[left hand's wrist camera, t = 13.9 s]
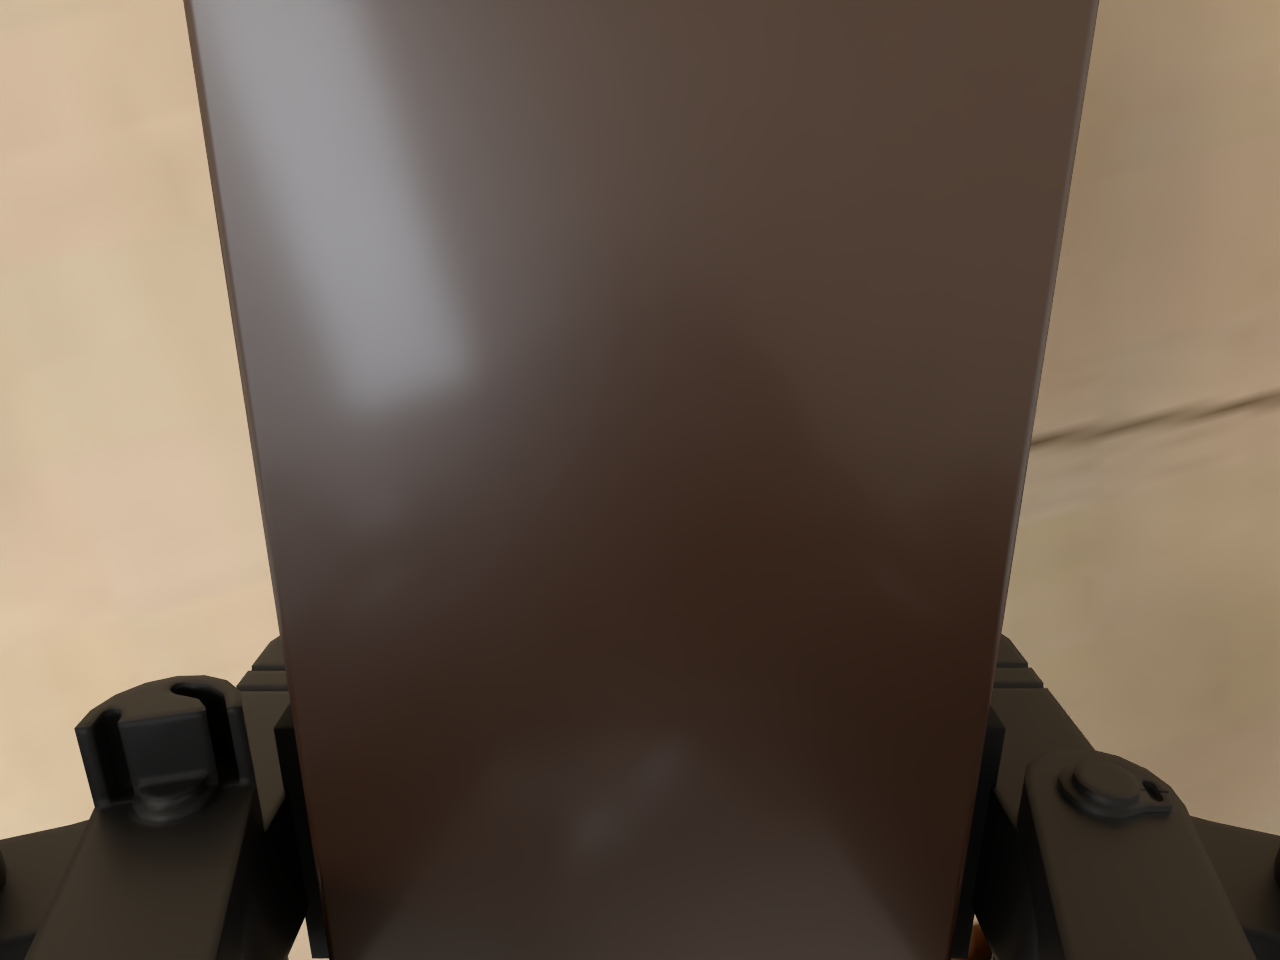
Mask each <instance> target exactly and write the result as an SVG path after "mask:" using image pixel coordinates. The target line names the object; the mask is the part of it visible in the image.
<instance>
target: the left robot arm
mask: <svg viewBox="0 0 1280 960" xmlns="http://www.w3.org/2000/svg"><path fill="white" fill-rule="evenodd" d="M236 687H237V688H236ZM236 687H234V686H233V685H232V684H231V683H230V682H228V681H227V680H223V679H219V678H214V677H210V676H206V675H200V676H175V677H171V678H166V679H162V680H157V681H152V682H148V683H144V684H142V685H139V686H137V687H134V688H132V689H129V690H126V691H124V692H121V693H119V694H116V695H114V696H113V697H111V698H110V699H108V700H107V701H105V702H103V703H102V704H100V705H99V706H97V707H95V708H94V709H92V710H91V711H90V712H89V713H88V714H87V715H86V716H85V717H84V718H83V719H82V721H81V722H80V723H79V724H78V725H77V726H76V727H75V728H74V729H75V733H76V736H77V740H78V744H79V748H80V752H81V756H82V759H83V763H84V767H85V771H86V775H87V779H88V782H89V786H90V790H91V794H92V798H93V802H94V805H95V808H94V810H93V813H92V815H91V817H90V819H89V820H87V821H83V822H79V823H76V824H72V825H68V826H64V827H59V828H54V829H49V830H45V831H40V832H35V833H31V834H26V835H21V836H16V837H12V838H7V839H2V840H0V960H289V959H288V954H289V952H290V950H291V948H292V945H293V943H294V941H295V938H296V936H297V934H298V932H299V929H300V927H301V925H302V923H303V920H304V918H306V924H307V930H308V936H309V942H310V948H311V954H312V958H329V954H328V947H327V940H326V934H325V927H324V921H323V914H322V908H321V901H320V894H319V888H318V881H317V875H316V868H315V862H314V855H313V848H312V842H311V835H310V829H309V822H308V816H307V809H306V802H305V796H304V789H303V783H302V776H301V770H300V763H299V756H298V750H297V743H296V737H295V730H294V724H293V717H292V710H291V704H290V697H289V691H288V684H287V678H286V671H285V664H284V658H283V651H282V645H281V638H280V636H279V637H277V638H276V639H274V640H273V641H271V642H270V643H269V644H268V646H267V647H266V648H265V650H264V651H263V652H262V653H261V655H260V656H259V657H258V659H257V660H256V661H255V663H254V664H253V665H252V671H248V672H247V673H246V674H245V676H244V677H243V678H242V680H241V681H240V682H239V684H238V685H237V686H236ZM974 914H975V915H976V917H977V920H978V922H979V924H980V927H981V929H982V931H983V933H984V936H985V938H986V940H987V942H988V945H989V947H990V949H991V951H992V959H991V960H1280V836H1278V835H1273V834H1268V833H1263V832H1259V831H1254V830H1249V829H1244V828H1240V827H1235V826H1230V825H1225V824H1221V823H1216V822H1211V821H1207V820H1204V819H1200V818H1196V817H1193V816H1190V815H1189V813H1188V811H1187V809H1186V807H1185V805H1184V804H1183V803H1182V801H1181V800H1180V799H1179V797H1178V796H1177V795H1176V793H1175V792H1174V791H1173V789H1172V788H1171V787H1170V786H1169V785H1167V784H1166V783H1165V782H1163V781H1162V780H1161V779H1159V778H1158V777H1157V776H1155V775H1154V774H1153V773H1151V772H1150V771H1148V770H1147V769H1145V768H1143V767H1141V766H1138V765H1136V764H1134V763H1132V762H1130V761H1127V760H1125V759H1123V758H1121V757H1119V756H1115V755H1111V754H1107V753H1103V752H1099V751H1095V750H1094V748H1093V747H1092V746H1091V744H1090V743H1089V742H1088V740H1087V739H1086V738H1085V737H1084V735H1083V734H1082V733H1081V731H1080V730H1079V729H1078V727H1077V726H1076V725H1075V724H1074V722H1073V721H1072V720H1071V718H1070V717H1069V716H1068V714H1067V713H1066V712H1065V711H1064V709H1063V708H1062V707H1061V705H1060V704H1059V703H1058V702H1057V700H1056V699H1055V698H1054V696H1053V695H1052V694H1051V692H1050V691H1049V690H1048V689H1047V688H1044V687H1043V682H1042V681H1041V679H1040V678H1039V677H1038V676H1037V674H1036V673H1035V672H1034V670H1033V669H1032V668H1028V663H1027V661H1026V660H1025V659H1024V657H1023V656H1022V655H1021V653H1020V652H1019V651H1018V650H1017V648H1016V647H1015V646H1014V644H1013V643H1012V642H1011V640H1010V639H1009V638H1007V637H1005V636H1004V635H1002V634H1001V638H1000V644H999V651H998V657H997V664H996V670H995V677H994V683H993V689H992V696H991V702H990V709H989V715H988V722H987V728H986V735H985V741H984V748H983V754H982V761H981V767H980V774H979V780H978V786H977V793H976V799H975V806H974V812H973V819H972V825H971V832H970V838H969V845H968V851H967V858H966V864H965V871H964V877H963V883H962V890H961V896H960V903H959V909H958V916H957V922H956V929H955V935H954V942H953V948H952V955H951V958H967V956H968V950H969V944H970V938H971V932H972V926H973V920H974Z"/></svg>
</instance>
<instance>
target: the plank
mask: <svg viewBox="0 0 1280 960" xmlns="http://www.w3.org/2000/svg"><path fill="white" fill-rule="evenodd" d="M183 1H184V7H185V14H186V21H187V27H188V34H189V40H190V47H191V53H192V60H193V67H194V73H195V80H196V86H197V93H198V99H199V106H200V113H201V119H202V126H203V132H204V139H205V145H206V152H207V159H208V165H209V172H210V178H211V185H212V191H213V198H214V205H215V211H216V218H217V224H218V231H219V237H220V244H221V251H222V257H223V264H224V270H225V277H226V283H227V290H228V297H229V303H230V310H231V316H232V323H233V329H234V336H235V343H236V349H237V356H238V362H239V369H240V375H241V382H242V389H243V395H244V402H245V408H246V415H247V421H248V428H249V435H250V441H251V448H252V454H253V461H254V467H255V474H256V480H257V487H258V494H259V500H260V507H261V513H262V520H263V526H264V533H265V540H266V546H267V553H268V559H269V566H270V572H271V579H272V586H273V592H274V599H275V605H276V612H277V618H278V625H279V632H280V638H281V645H282V651H283V658H284V664H285V671H286V678H287V684H288V691H289V697H290V704H291V710H292V717H293V724H294V730H295V737H296V743H297V750H298V756H299V763H300V770H301V776H302V783H303V789H304V796H305V802H306V809H307V816H308V822H309V829H310V835H311V842H312V848H313V855H314V862H315V868H316V875H317V881H318V888H319V894H320V901H321V908H322V914H323V921H324V927H325V934H326V940H327V947H328V954H329V960H951V955H952V948H953V942H954V935H955V929H956V922H957V916H958V909H959V903H960V896H961V890H962V883H963V877H964V871H965V864H966V858H967V851H968V845H969V838H970V832H971V825H972V819H973V812H974V806H975V799H976V793H977V786H978V780H979V774H980V767H981V761H982V754H983V748H984V741H985V735H986V728H987V722H988V715H989V709H990V702H991V696H992V689H993V683H994V677H995V670H996V664H997V657H998V651H999V644H1000V638H1001V631H1002V625H1003V618H1004V612H1005V605H1006V599H1007V592H1008V586H1009V580H1010V573H1011V567H1012V560H1013V554H1014V547H1015V541H1016V534H1017V528H1018V521H1019V515H1020V508H1021V502H1022V495H1023V489H1024V483H1025V476H1026V470H1027V463H1028V457H1029V450H1030V444H1031V437H1032V431H1033V424H1034V418H1035V411H1036V405H1037V398H1038V392H1039V386H1040V379H1041V373H1042V366H1043V360H1044V353H1045V347H1046V340H1047V334H1048V327H1049V321H1050V314H1051V308H1052V301H1053V295H1054V289H1055V282H1056V276H1057V269H1058V263H1059V256H1060V250H1061V243H1062V237H1063V230H1064V224H1065V217H1066V211H1067V204H1068V198H1069V192H1070V185H1071V179H1072V172H1073V166H1074V159H1075V153H1076V146H1077V140H1078V133H1079V127H1080V120H1081V114H1082V107H1083V101H1084V95H1085V88H1086V82H1087V75H1088V69H1089V62H1090V56H1091V49H1092V43H1093V36H1094V30H1095V23H1096V17H1097V10H1098V4H1099V0H183Z"/></svg>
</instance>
